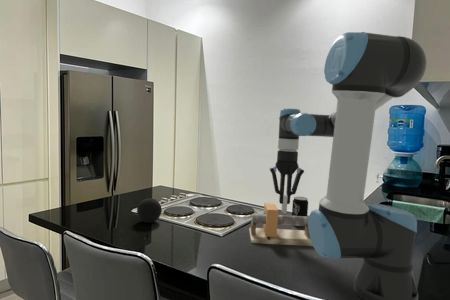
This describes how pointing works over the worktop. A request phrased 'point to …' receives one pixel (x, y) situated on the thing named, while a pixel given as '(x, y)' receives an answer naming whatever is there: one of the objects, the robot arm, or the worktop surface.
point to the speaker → (149, 210)
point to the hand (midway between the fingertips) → (283, 212)
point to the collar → (270, 220)
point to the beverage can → (300, 207)
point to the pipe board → (281, 231)
